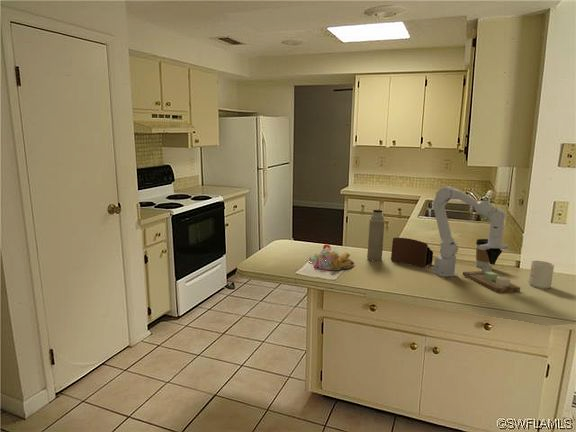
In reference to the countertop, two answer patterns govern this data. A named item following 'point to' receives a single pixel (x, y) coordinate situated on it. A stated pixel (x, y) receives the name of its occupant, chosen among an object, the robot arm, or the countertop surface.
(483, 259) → the coffee cup
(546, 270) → the mug
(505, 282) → the beige cube
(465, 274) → the brown flat board
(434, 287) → the countertop surface
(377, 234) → the thermos bottle
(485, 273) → the sage green cube
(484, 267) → the slider knob
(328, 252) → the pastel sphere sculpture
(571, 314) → the countertop surface
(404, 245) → the letter holder
